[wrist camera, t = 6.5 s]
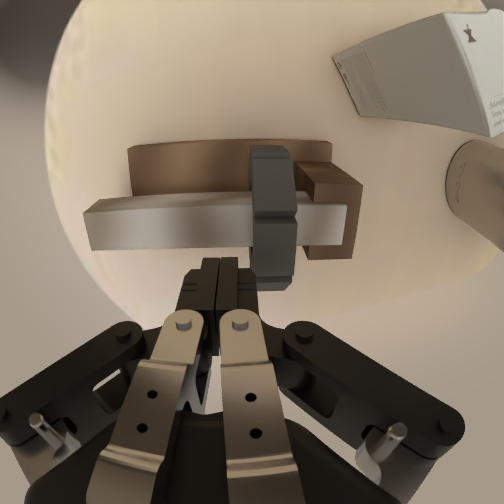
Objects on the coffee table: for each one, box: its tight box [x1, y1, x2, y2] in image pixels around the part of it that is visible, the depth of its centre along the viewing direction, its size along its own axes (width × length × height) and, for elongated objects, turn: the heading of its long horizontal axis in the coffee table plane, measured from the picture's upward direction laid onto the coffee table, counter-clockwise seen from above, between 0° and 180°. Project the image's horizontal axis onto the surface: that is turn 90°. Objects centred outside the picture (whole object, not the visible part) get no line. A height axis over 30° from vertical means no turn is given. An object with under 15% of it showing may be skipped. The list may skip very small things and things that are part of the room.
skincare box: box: [333, 9, 504, 138], centre depth 13 cm, size 8×6×15 cm
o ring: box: [248, 145, 298, 291], centre depth 18 cm, size 2×9×9 cm, turn 0°
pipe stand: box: [83, 139, 363, 260], centre depth 20 cm, size 17×8×8 cm, turn 90°
